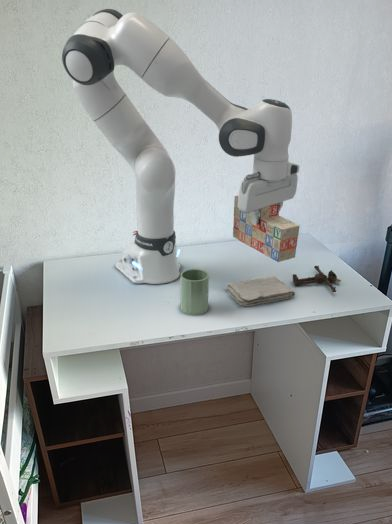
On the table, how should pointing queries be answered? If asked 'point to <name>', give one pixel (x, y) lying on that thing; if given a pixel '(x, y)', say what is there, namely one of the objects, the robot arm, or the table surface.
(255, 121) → the robot arm
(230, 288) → the washcloth
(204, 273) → the pencil cup
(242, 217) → the stack of blocks
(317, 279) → the brown toy monkey
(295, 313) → the table surface
